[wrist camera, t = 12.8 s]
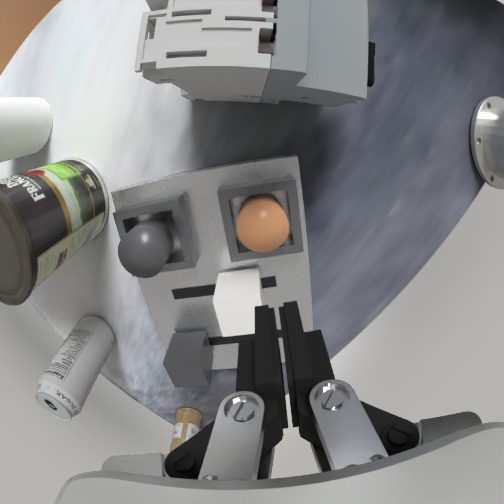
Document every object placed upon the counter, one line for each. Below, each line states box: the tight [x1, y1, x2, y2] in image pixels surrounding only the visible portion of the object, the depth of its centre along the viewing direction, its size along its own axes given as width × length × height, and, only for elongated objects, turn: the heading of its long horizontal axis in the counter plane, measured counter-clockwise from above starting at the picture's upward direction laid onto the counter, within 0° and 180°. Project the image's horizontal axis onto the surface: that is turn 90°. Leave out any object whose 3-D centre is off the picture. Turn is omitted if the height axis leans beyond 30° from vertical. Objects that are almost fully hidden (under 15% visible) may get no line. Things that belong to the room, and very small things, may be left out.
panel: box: [111, 154, 313, 370], centre depth 29 cm, size 18×24×4 cm
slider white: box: [213, 268, 265, 337], centre depth 26 cm, size 4×4×5 cm
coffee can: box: [0, 158, 109, 305], centre depth 21 cm, size 10×10×14 cm
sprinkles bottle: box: [170, 407, 202, 452], centre depth 36 cm, size 5×5×14 cm
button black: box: [118, 219, 174, 278], centre depth 23 cm, size 4×4×3 cm
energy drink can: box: [36, 316, 115, 421], centre depth 28 cm, size 6×6×15 cm
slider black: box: [163, 331, 214, 387], centre depth 30 cm, size 4×4×5 cm
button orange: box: [237, 195, 289, 252], centre depth 24 cm, size 4×4×3 cm
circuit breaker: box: [135, 0, 375, 107], centre depth 16 cm, size 8×14×15 cm, turn 86°
